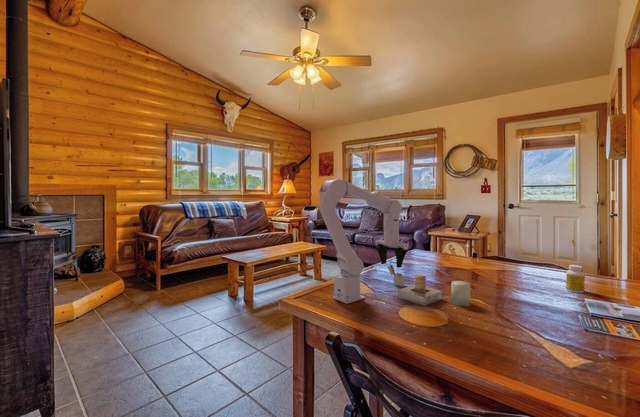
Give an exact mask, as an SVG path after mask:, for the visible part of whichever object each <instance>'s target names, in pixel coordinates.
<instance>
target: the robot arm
mask: <svg viewBox="0 0 640 417" xmlns="http://www.w3.org/2000/svg"><path fill="white" fill-rule="evenodd" d="M318 193H319V199H318V200H319V203H318V210H319V212H320V214H321V216H322V219H323V222H324V224H325V227H326V229H327V231H328V233H329V236H330V238H331V241H332V242H333V244H334V247H335V249H336V255H335V256H336V257H337V266H338V268H339V269H340V275H339V276H337V277H335V278H334V280H333V296H332V299H334V300H337V301H339V302H342V303H344V304H346V305H347V304H351V303H353V302H358V301H360V300H364V299H366V296H364V295H361V274H362V272H363V271H364V267H365V266H364V265H365V264H364V262H363V260H362V259H360V258H359V256H358V255H357V253H356V252H355V250H354V249H353V248H352V246H351V243H350V241H349V239H348V237H347V234H346V232H345V228H343V225H342V222H341V219H340V218H339V215H338V213H337V211H336V207H337V205H338V203H339V202H340V201H341V200H342V199H343V198H344V196H345V195H347V196H348V195H350V196H352V197H355V198H358V199H360V200H363V201H366V204H367V206H369V207H370V208H374V209H375V210H378V211H381V213H382V214H383V239H375V245H376V246H374V247H375V250H376V252H377V253H378V257H379V259H380V264H381V265H385V264H387V254H388V249H389V248H390V247H391V248H395V249H393V251H394V254H395V258H396V259H395V262H396V268H397V269H400V268H402V267H403V262H404V260H405V257H406V255H407V253H408V251H409V243H405V242H402V241H400V218H401V217H400V216H401V213H402V211H403V206H402V204H401V202H400V201H399V200H397V199H391V196H388V195H385V194H384V195H383V194H382V193H381V191H378V190H375V191H371V192H369V191H367V190H365V189H363V188H361V187H359V186H357V185H355V184H353V183H351V182H349V181H344V180H342V179H340V178H337V179H332V180H331V179H328V180H324V182H322V184H321V186H320V187H319V189H318Z"/></svg>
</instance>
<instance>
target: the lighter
mask: <svg viewBox="0 0 640 417" xmlns="http://www.w3.org/2000/svg"><path fill="white" fill-rule="evenodd" d="M387 269H388V271H389V275H390V276H393V286H397V287H401V288H404V287H405V275H403V274H402V272H398V271H397V272H396V271H395V268H394V265H393V264H388V265H387Z"/></svg>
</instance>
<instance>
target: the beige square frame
mask: <svg viewBox="0 0 640 417" xmlns="http://www.w3.org/2000/svg"><path fill="white" fill-rule="evenodd" d="M397 298H398V299H400V300H403V301H407V302H410V303H412V304H416V305H417V306H418V305H419V306H422V307H426V306H429V305H431V304H434V303H437V302H439V301H442V300H443V290H439V289H437V288H432V287H428V286H426V293H423V294H421V293H417V292H414V284H413V285H409V286H406V287H405V286H404V287H401V288H399V289H398V290H397Z"/></svg>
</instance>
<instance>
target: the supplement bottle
mask: <svg viewBox="0 0 640 417" xmlns="http://www.w3.org/2000/svg"><path fill="white" fill-rule="evenodd" d="M568 268H569V269H568V270H567V271H566V275H565V276H566V277H565V278H566V280H565V290H566V291H568V292H572V293H576V294H577V293H580V294H581V293H584V292H585V277H586V276H585V272H583V266H582V265H577V264H569V265H568Z"/></svg>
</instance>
